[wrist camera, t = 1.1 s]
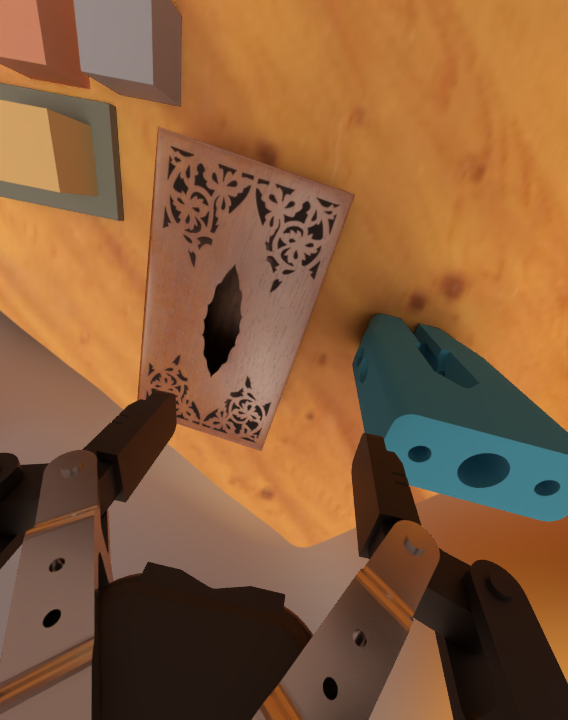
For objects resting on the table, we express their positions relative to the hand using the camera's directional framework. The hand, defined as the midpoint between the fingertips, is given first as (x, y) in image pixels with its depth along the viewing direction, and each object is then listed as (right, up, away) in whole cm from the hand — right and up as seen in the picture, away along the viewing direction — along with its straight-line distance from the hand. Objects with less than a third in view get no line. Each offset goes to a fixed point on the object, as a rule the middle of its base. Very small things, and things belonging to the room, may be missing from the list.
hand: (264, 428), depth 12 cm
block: (+15, +5, +22) cm, 27 cm away
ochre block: (-21, +24, +17) cm, 36 cm away
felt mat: (-23, +24, +18) cm, 38 cm away
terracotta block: (-20, +32, +14) cm, 40 cm away
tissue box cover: (-3, +10, +23) cm, 25 cm away
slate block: (-11, +30, +14) cm, 35 cm away
